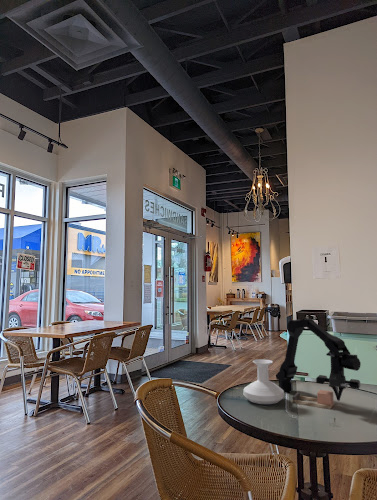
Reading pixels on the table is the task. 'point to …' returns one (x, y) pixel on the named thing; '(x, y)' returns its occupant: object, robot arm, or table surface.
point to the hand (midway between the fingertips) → (338, 400)
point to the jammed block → (325, 397)
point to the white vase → (263, 386)
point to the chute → (296, 400)
